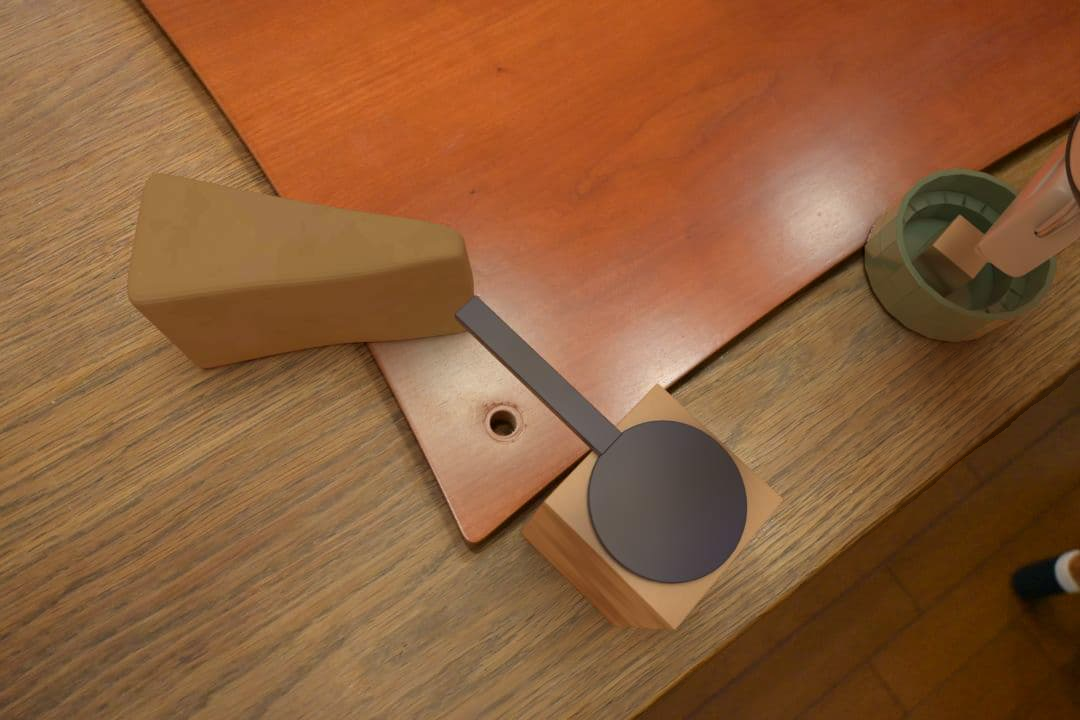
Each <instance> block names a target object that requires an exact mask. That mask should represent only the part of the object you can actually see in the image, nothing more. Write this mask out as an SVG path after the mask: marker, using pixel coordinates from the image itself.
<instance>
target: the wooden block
mask: <svg viewBox="0 0 1080 720" xmlns="http://www.w3.org/2000/svg"><path fill="white" fill-rule="evenodd" d="M983 236H984V234H983V233H982V232H981V231H979V230H978V229H977V228H976V227H975V226H973V225H972V224H971V223H970V222H968V221H967V220H966V219H965V218H964V217H962V216H961V215H958V216H957V217H956V218H955V219H953V220H952V221H951V222H950V223H948V224H947V225H946V226H945V227H943V228H942V229H941V230H940V231H938V232H937V233H936V234H935V235H933V236H932V237H931V238H930V239H929V240H928V241H927V243H926V244H925V245H924V246H923V247H922V248H921V249H920V251H919V252H918V253H917V254H916V255H915V256H914V257H913V258H912V260H911V263H912V264H913V266H914V267H915V269H916V270H917V272H918V273H919V274H920V276H921V277H922V279H923V280H924V281H925V283H926V284H928V285H929V286H930V287H931V288H932V289H934V290H935V291H936V292H937V293H938V294H940V295H941V296H942V297H943V298H945V297H946V296H948V295H949V294H951V293H952V292H954V291H956V290H957V289H959V288H960V287H962V286H963V285H965V284H966V283H968V282H969V281H971V280H972V279H974V278H975V276H976V275H977V274H978V273H979V272H980V270H981V269H982V268H983V267H984V266H985V264H986V263H987V262H986V261H984V260H983V259H982V258H981V257H979V256H978V255H977V254H976V253H975V252H974V247H975V246H976V245H977V244H978V242H979V241H980V239H981V238H982V237H983Z"/></svg>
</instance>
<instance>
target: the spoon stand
mask: <svg viewBox="0 0 1080 720" xmlns="http://www.w3.org/2000/svg"><path fill="white" fill-rule="evenodd" d="M455 320H456V321H458V322H459V323H460V324H461V325H462V326H463V327H464V328H465V329H466V330H467V332H468V333H469V334H470V335H471V336H472V337H473V338H474V339H475V340H476V341H477V342H478V343H479V344H480V345H481V346H482V347H483V348H484V349H485V350H486V351H488V352H489V353H490V354H491V356H493V358H495V359H496V360H497V361H498V362H499V363H500V364H501V365H502V366H503V367H504V368H505V369H507V371H509V372H510V373H511V374H512V375H513V376H514V377H515V378H516V379H517V380H518V381H519V382H520V384H522V385H523V386H524V388H526V389H527V390H528V391H529V392H531V394H533V396H534V397H536V398H537V399H538V400H539V401H540V403H542V404H543V405H544V406H545V407H546V408H547V410H549V411H550V412H551V413H553V415H555V417H557V418H558V420H560V421H561V422H562V423H563V424H564V425H565V426H566V427H567V428H568V429H569V430H570V431H571V432H572V433H573V434H575V436H577V437H578V439H580V441H582V442H583V443H584V445H586V446H587V448H589V449H590V450H591V452H589V454H587V455H586V457H585V458H584V459H583V460H582V461H581V462H579V464H578V465H577V466H576V467H575V468H574V469H573V470H572V471H571V472H570V473H569V474H568V475H567V476H566V478H564V479H563V480H562V482H561V483H560V484H558V485H557V487H556V488H555V489H554V490H553V491H552V492H551V493H550V494H549V495H548V496H547V497H546V498H545V499H544V500H543V501H542V503H541V505H540V506H539V507H538V509H537V510H536V511H535V512H534V514H533V515H532V516H531V518H530V519H529V520H528V522H527V523H526V524H525V526H524V527H523V529H522V530H521V531H520V535H521V536H522V537H523V538H525V539H526V540H527V541H528V542H529V544H531V545H532V547H534V549H535V550H537V551H538V552H539V554H541V556H542V557H543V558H545V559H546V560H547V561H548V563H550V564H551V565H552V566H553V568H555V569H556V570H557V572H559V574H560V575H561V576H562V577H564V578H565V580H567V582H569V583H570V584H571V585H572V586H573V588H575V589H576V590H577V591H578V592H579V593H580V594H581V595H582V596H583V597H584V598H585V599H586V601H588V602H589V603H590V605H592V607H594V608H595V609H596V611H598V612H599V613H600V614H601V616H603V617H604V618H605V619H606V621H608V622H609V623H610V624H611V625H612V626H613V627H626V628H637V629H641V628H642V629H653V630H654V629H655V630H668V631H676V630H677V629H678V628H679V627H680V625H681V624H682V623H683V622H684V621H685V619H686V618H687V617H688V616H689V615H690V614H691V612H692V611H693V610H694V609H695V608H696V606H698V604H699V602H700V601H701V600H702V599H704V597H705V595H706V594H707V593H708V591H710V589H711V588H712V587H713V586H714V585H715V584H716V582H717V581H718V580H719V579H720V578H721V576H723V574H724V573H725V572H726V570H727V569H728V568H729V567H730V566H731V564H732V563H733V562H734V561H735V560H736V558H737V557H738V556H739V555H740V553H742V551H743V550H744V549H745V547H747V545H748V544H749V542H750V541H751V540H752V539H753V538H754V537H755V535H756V534H758V532H759V531H760V530H761V529H762V527H763V526H764V525H765V523H766V522H767V521H769V519H770V518H771V516H772V515H773V514H774V512H776V510H777V509H778V508H779V507H780V506H781V504H782V503H783V502H784V501H785V500H784V498H783V497H782V496H781V495H780V494H779V493H778V492H776V490H774V488H772V487H771V486H770V485H769V484H768V483H767V482H766V481H765V480H763V479H762V477H760V476H759V475H758V474H757V473H756V472H755V471H754V470H753V469H752V468H751V467H749V465H747V464H746V463H745V462H744V461H743V460H742V459H740V457H739V456H738V455H736V454H735V453H734V452H733V451H732V450H731V449H730V448H729V447H727V445H726V444H725V443H724V442H722V441H721V440H720V439H719V438H718V437H717V436H716V435H715V434H714V433H713V432H711V430H709V428H707V427H706V426H705V425H704V424H703V423H702V422H701V421H700V420H698V419H697V418H696V417H695V416H694V414H692V413H691V412H690V411H689V410H688V409H687V408H685V406H683V405H682V404H681V403H680V402H679V401H678V400H677V399H676V398H675V397H674V396H673V395H672V394H670V392H668V391H667V390H666V389H665V388H664V387H663V386H662V385H661V384H659V383H658V382H657V383H656V384H655V385H653V386H652V388H651V389H650V390H649V391H647V393H646V394H645V395H644V396H643V397H642V398H641V399H640V400H639V401H638V402H637V403H636V404H635V405H634V407H633V408H632V409H630V411H628V413H626V415H625V416H624V417H622V419H621V420H620V421H619V422H618V423H617V424H616V425H614V424H613V423H612V422H611V421H610V420H609V419H608V418H607V417H606V416H605V415H604V414H603V413H602V412H600V410H599V409H597V407H595V406H594V405H593V404H592V403H591V402H590V401H589V400H588V399H587V398H586V397H585V396H583V394H582V393H580V391H578V390H577V389H576V388H575V387H574V386H573V385H572V384H571V383H570V382H569V381H568V380H567V379H566V378H565V377H564V376H563V375H562V374H561V373H559V372H558V370H556V369H555V368H554V367H553V366H552V365H551V364H550V363H549V362H548V361H547V360H545V359H544V358H543V357H542V356H541V354H539V353H538V352H537V351H536V350H535V349H534V348H533V347H531V345H530V344H528V343H527V342H526V340H524V339H523V338H522V337H521V336H520V335H519V334H518V333H517V332H516V331H515V330H514V329H513V328H511V326H510V325H508V324H507V322H505V321H504V319H502V318H501V316H499V315H498V314H497V313H496V312H495V311H494V310H493V309H491V308H490V307H489V306H488V305H487V304H486V303H485V301H483V300H482V299H481V298H480V297H479V296H478V295H477V294H474V297H473V298H472V299H471V300H469V301H468V302H467V303H466V304H465V305H464V306H463V307H462V308H461V309H459V310H458V311H457V312H456V313H455Z"/></svg>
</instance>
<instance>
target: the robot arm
mask: <svg viewBox="0 0 1080 720" xmlns="http://www.w3.org/2000/svg"><path fill="white" fill-rule="evenodd" d="M1019 192H1020V193H1019V195H1018V196H1017V197H1016V198H1015V199H1014V200H1013V202H1012V203H1011V204H1010V205H1009V206H1008V208H1007V209H1006V210H1005V211H1004V212H1003V213H1002V215H1001V216H1000V217H999V218H998V219H997V220H996V222H995V223H994V224H993V225H992V226H991V228H990V229H989V230H988V231H987V232H986V233H985V235H984V236H983V237H982V238H981V239H980V241H979V242H978V244H977V245H976V246H975V247H974V252H975V253H976V254H977V255H978V256H979V257H981V258H982V259H983V260H984V261H986V262H988V263H992V264H993V265H994V266H996V267H997V268H998V269H1000V270H1001V271H1002V272H1004V273H1005V274H1007V275H1009V276H1012V277H1020V276H1023V275H1025V274H1027V273H1028V272H1030V271H1031V270H1033V269H1034V268H1036V267H1037V266H1039V265H1040V264H1042V263H1043V262H1045V261H1046V260H1048V259H1049V258H1051V257H1052V256H1054V255H1055V254H1058V253H1060V252H1061V251H1062V250H1064V249H1065V248H1066V247H1068V246H1070V245H1071V244H1072V243H1073V242H1075V241H1076V240H1078V239H1079V238H1080V110H1079V111H1078V113H1077V114H1076V116H1075V118H1074V120H1073V122H1072V124H1071V127H1070V130H1069V132H1068V136H1066V138H1065V139H1064V140H1063V141H1062V143H1060V145H1059V146H1058V147H1057V148H1056V150H1055V151H1054V152H1053V153H1052V154H1051V155H1050V157H1049V158H1048V159H1047V160H1046V161H1045V162H1044V164H1043V165H1042V166H1041V167H1040V168H1039V170H1038V171H1037V172H1036V173H1035V175H1034V176H1033V177H1032V178H1031V179H1030V181H1029V182H1027V184H1026V185H1025V186H1024V187H1023V189H1022V190H1021V191H1019Z"/></svg>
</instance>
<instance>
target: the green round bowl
mask: <svg viewBox="0 0 1080 720" xmlns="http://www.w3.org/2000/svg"><path fill="white" fill-rule="evenodd" d="M1020 192H1021V191H1019V190H1017V189H1016V187H1014V186H1013V185H1011V184H1010V183H1009V182H1007V181H1004V180H1002V179H1000V178H999V177H996V176H993V175H991V174H989V173H987V172H984V171H977V170H973V169H968V168H967V169H966V168H960V167H959V168H950V169H941V170H936V171H934V172H933V173H930V174H927V175H926V176H924V177H922V178H919V179H918V180H916V181H915V182H914V183H913V184H912V185H911V186H910V187H909V188H908V189H907V190H906V191H905V192H904V193H903V194H901V196H899V197H898V198H897V199H896V201H894V202H893V203H892V204H891V205H890V206H889V207H888V208H887V209H886V210H885V211H884V212H885V213H884V212H883V213H884V214H883V213H882V214H883V215H882V214H881V215H882V216H881V215H880V216H881V217H880V216H879V217H878V219H877V220H876V221H875V222H874V223H875V224H874V223H873V224H874V227H873V229H872V232H871V235H870V238H869V240H868V242H867V244H866V245H865V244H864V268H865V272H866V274H867V277H868V280H869V284H870V287H871V289H872V291H873V293H874V294H875V295H876V298H877V299H878V300H879V302H880V303H881V305H882V307H884V309H885V311H887V312H888V314H890V315H891V316H892V317H894V318H895V319H896V320H897V321H898V322H900V324H902V325H903V326H904V327H905V328H907V329H909V330H911V331H913V332H915V333H918V334H920V335H922V336H924V337H926V338H928V339H931V340H932V339H933V340H938V341H944V342H949V343H959V342H966V341H973V340H977V339H979V338H981V337H983V336H985V335H987V334H988V333H989V334H990V333H991V332H992V331H995V330H996V329H999V328H1000V327H1002V326H1003V325H1005V324H1008V323H1009V322H1012V321H1013V320H1015V319H1017V318H1019V317H1021V316H1022V315H1024V314H1026V313H1028V312H1030V311H1032V310H1033V309H1034V308H1035V309H1036V308H1037V307H1038V306H1039V305H1040V303H1041V302H1042V301H1043V299H1044V298H1045V297H1046V296H1047V294H1048V293H1049V292H1050V290H1051V289H1052V286H1053V282H1054V279H1055V275H1056V272H1057V267H1058V265H1057V255H1056V254H1055V255H1054V256H1052V257H1051V258H1049V259H1048V260H1046V261H1045V262H1043V263H1042V264H1040V265H1039V266H1037V267H1036V268H1034V269H1033V270H1031V271H1030V272H1028V273H1027V274H1025V275H1023V276H1020V277H1012V276H1009V275H1007V274H1005V273H1004V272H1002V271H1001V270H1000V269H998V268H997V267H996V266H994V265H993V264H992V263H988V262H987V263H986V264H985V266H984V267H983V268H982V269H981V270H980V272H979V273H978V274H977V275H976V276H975V278H974V279H972V280H971V281H969V282H968V283H966V284H965V285H963V286H962V287H960V288H959V289H957V290H956V291H954V292H952V293H951V294H949V295H948V296H946V297H945V298H943V297H942V296H941V295H940V294H938V293H937V292H936V291H935V290H934V289H932V288H931V287H930V286H929V285H928V284H926V283H925V281H924V280H923V279H922V277H921V276H920V274H919V273H918V272H917V270H916V269H915V267H914V266H913V264H912V263H911V260H912V258H913V257H914V256H915V255H916V254H917V253H918V252H919V251H920V249H921V248H922V247H923V246H924V245H925V244H926V243H927V241H928V240H929V239H930V238H931V237H932V236H933V235H935V234H936V233H937V232H938V231H940V230H941V229H942V228H943V227H945V226H946V225H947V224H948V223H950V222H951V221H952V220H953V219H955V218H956V217H957V216H958V215H961V216H962V217H964V218H965V219H966V220H967V221H968V222H970V223H971V224H972V225H973V226H975V227H976V228H977V229H978V230H979V231H981V232H982V233H983V234H984V235H985V233H986V232H987V231H988V230H989V229H990V228H991V226H992V225H993V224H994V223H995V222H996V220H997V219H998V218H999V217H1000V216H1001V215H1002V213H1003V212H1004V211H1005V210H1006V209H1007V208H1008V206H1009V205H1010V204H1011V203H1012V202H1013V200H1014V199H1015V198H1016V197H1017V196H1018V195H1019V193H1020Z"/></svg>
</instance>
